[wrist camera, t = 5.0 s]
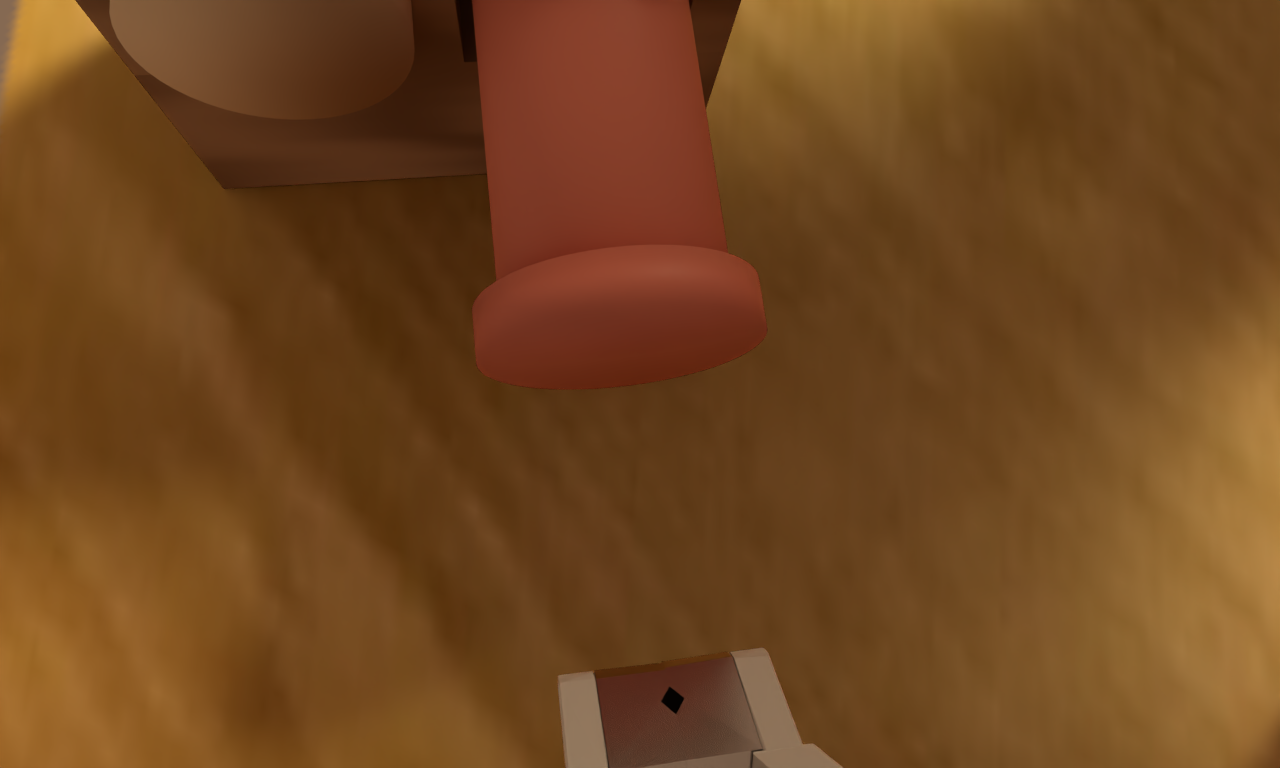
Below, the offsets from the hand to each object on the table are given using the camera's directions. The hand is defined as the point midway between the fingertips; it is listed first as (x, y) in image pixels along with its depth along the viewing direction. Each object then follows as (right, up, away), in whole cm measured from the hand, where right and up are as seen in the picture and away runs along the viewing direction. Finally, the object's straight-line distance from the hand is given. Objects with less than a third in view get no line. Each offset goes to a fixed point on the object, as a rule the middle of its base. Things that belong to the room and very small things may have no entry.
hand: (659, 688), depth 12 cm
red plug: (-1, +9, +4) cm, 10 cm away
